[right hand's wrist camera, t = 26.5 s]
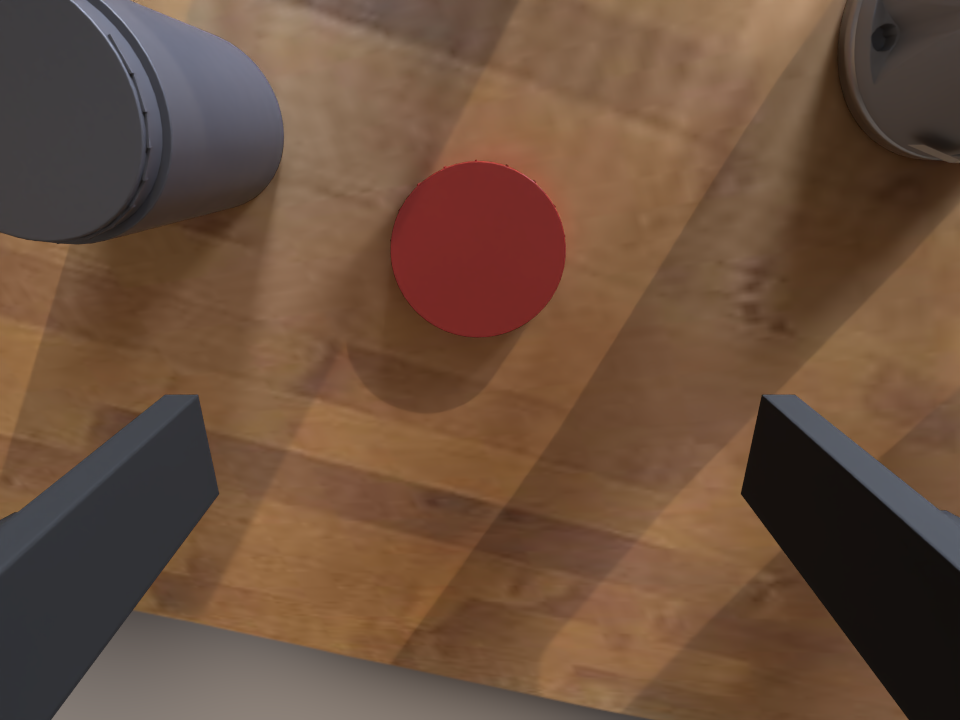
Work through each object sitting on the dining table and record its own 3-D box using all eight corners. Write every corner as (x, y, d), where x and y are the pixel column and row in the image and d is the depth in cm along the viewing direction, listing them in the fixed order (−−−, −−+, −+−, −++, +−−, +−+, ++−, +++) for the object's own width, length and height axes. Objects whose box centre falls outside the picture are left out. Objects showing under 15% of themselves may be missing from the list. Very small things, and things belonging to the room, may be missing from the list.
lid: (528, 131, 34) (531, 130, 33) (583, 297, 38) (588, 304, 36) (365, 199, 36) (360, 202, 34) (434, 352, 40) (432, 361, 38)
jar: (179, 233, 36) (-4, 289, 23) (81, 75, 33) (-206, 26, 19) (314, 170, 35) (206, 188, 21) (226, -3, 31) (27, -117, 18)
